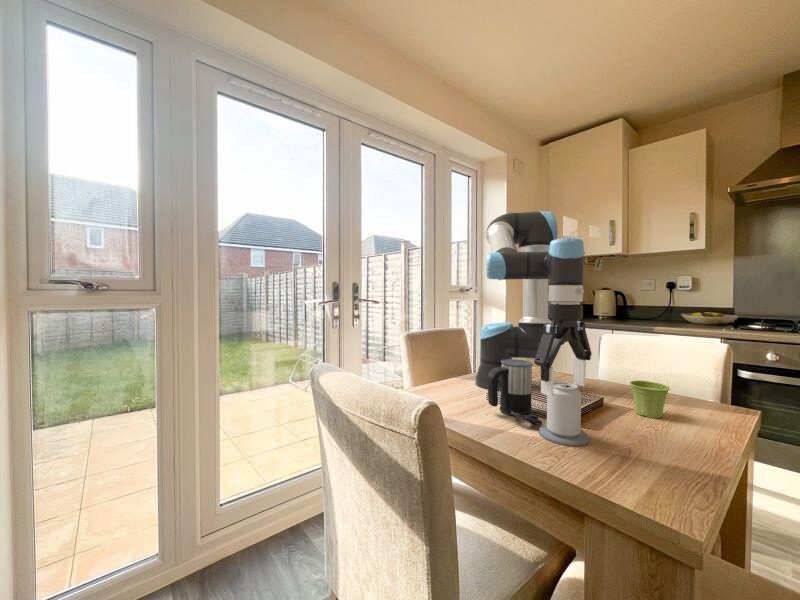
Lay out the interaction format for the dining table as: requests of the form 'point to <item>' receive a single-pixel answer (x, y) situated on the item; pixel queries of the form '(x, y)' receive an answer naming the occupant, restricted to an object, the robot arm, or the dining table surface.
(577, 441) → the coaster
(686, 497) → the dining table surface
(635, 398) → the plant pot
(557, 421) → the can
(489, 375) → the milk frother
